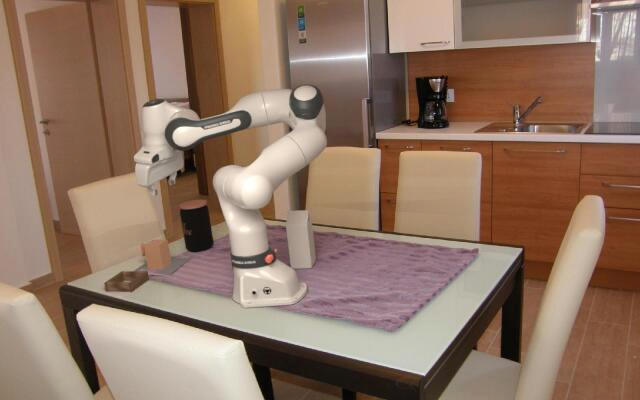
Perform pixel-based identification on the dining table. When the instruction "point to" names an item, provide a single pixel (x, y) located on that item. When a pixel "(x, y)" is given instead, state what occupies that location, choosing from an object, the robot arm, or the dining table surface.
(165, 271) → the mat
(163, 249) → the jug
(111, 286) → the tray
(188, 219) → the coffee jar
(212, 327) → the dining table surface
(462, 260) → the dining table surface
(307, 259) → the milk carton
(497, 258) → the dining table surface
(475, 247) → the dining table surface
